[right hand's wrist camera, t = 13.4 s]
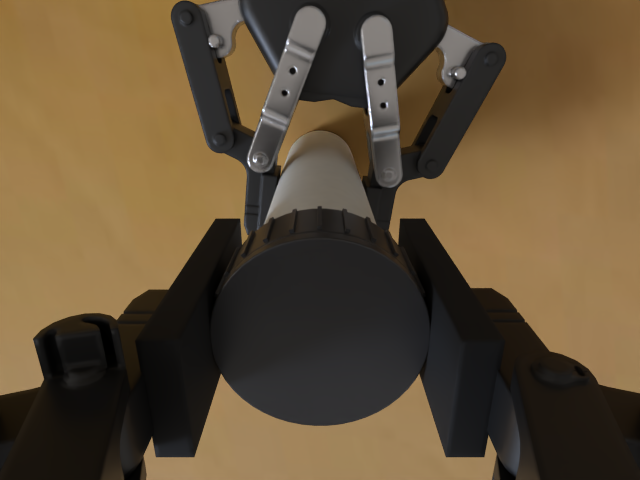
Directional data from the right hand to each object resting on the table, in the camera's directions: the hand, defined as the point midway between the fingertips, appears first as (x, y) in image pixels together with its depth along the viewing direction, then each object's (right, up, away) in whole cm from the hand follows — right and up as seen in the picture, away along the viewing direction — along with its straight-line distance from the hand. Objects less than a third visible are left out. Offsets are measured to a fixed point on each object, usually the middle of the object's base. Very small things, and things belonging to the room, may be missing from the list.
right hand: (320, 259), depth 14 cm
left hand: (0, 0, +8) cm, 8 cm away
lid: (0, -2, -4) cm, 4 cm away
